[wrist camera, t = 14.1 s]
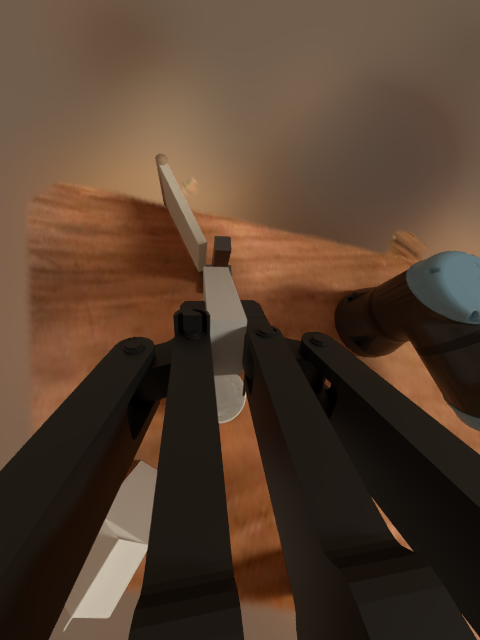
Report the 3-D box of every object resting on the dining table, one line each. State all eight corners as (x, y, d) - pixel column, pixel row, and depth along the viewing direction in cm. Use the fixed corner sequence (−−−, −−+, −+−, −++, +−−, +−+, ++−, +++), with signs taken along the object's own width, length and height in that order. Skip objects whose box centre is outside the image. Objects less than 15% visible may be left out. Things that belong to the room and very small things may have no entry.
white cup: (185, 392, 46) (181, 393, 36) (217, 363, 48) (222, 357, 38) (213, 425, 45) (217, 435, 35) (244, 395, 47) (256, 396, 38)
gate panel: (206, 270, 52) (208, 240, 41) (197, 273, 51) (197, 243, 41) (171, 197, 55) (164, 152, 45) (162, 200, 55) (153, 155, 44)
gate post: (230, 267, 54) (240, 227, 41) (231, 293, 52) (242, 260, 39) (202, 267, 53) (203, 226, 40) (202, 293, 51) (204, 259, 38)
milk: (171, 478, 42) (145, 567, 21) (148, 516, 40) (96, 657, 19) (140, 459, 42) (83, 529, 21) (116, 496, 40) (27, 615, 19)
